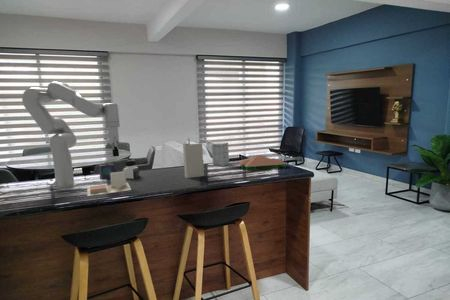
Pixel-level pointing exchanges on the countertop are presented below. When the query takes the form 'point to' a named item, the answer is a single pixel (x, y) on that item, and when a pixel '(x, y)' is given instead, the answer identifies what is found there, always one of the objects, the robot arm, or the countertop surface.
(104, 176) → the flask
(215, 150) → the supplement box
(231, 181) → the countertop surface
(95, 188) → the teal square slab
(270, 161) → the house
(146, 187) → the countertop surface
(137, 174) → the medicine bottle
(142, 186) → the countertop surface
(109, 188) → the board
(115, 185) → the beige square tile
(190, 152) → the beige box with antenna
